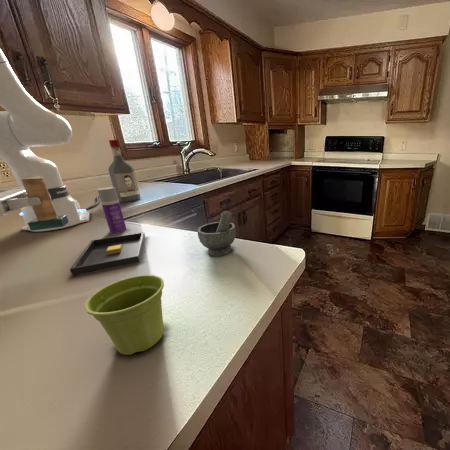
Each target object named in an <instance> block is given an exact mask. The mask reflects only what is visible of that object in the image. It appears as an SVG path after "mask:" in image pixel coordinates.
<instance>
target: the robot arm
mask: <svg viewBox="0 0 450 450" xmlns="http://www.w3.org/2000/svg"><path fill="white" fill-rule="evenodd" d="M0 107H1V108H3V109H4V110H0V159H1V160H2V161H3V162H4V163H5V164H6V165H7V167H8V168H9V170H10V171H11V174H12V175H13V177H14V179H15V181H16V183H17V185H18V186H0V218H2V217H4V216H6V215H9V214H10V213H13V212H16V211H17V210H19V209H20V211H21V212H20V213H19V216H22V217H23V221H24V224H25V225H24V226H21V229H22V231H30V232H48V231H56V230H59V229H61V230H62V229H65V228H69V227H73V226H76V225H78V224H83V223H87V222H89V221H90V215H91V214H90V211H88V210H90V209H92V208H94V207H96V206H97V205H98V204H99V203H100V197H99V194H97V195H96V197H95V199H96V200H95V201H96V202H95V203H94V204H92V205H90V206H88V207H87V208H84V209H83V208H82V209H81V205H80V203H79V201H78V200H77V199H75V198H73V197H72V195H70V192H69V186H68V185H67V184H64V182H63V179H62V176H61V173H60V170H59V167H58V166H57V165H56V164H55V163H54V162H52V161H51V160H49V159H47V158H43V157H40V156H37V154H35V153H34V152H33V151H32V150H31V148H41V147H44V148H47V147H57V146H62V145H66V144H69V143H70V142H71V140H72V138H73V129H72V127H71V125H70V123H69V122H68V120H66V119H65V118H64V117H62V116H61V115H60V114H57V113H56V112H53V111H51V110H50V109H48V108H46V107H45V106H43V104H40V103H39V102H38V101H37V100H36V99H35V98H33V96H31V95H30V93H28V91H27V90H26V89H25V88H24V86H23V85H22V83H21V81H20V80H19V78H18V76H17V75H16V73H15V71H14V70H13V68H12V67H11V65H10V62H9V61H8V59H7V57H6V56H5V54H4V52H3V51H2V49H1V48H0ZM30 177H43V179H44V181H45V184H46V187H47V189H48V192H49V195H50V197H51V200H52V203H53V205H54V208H55V211H56V213H57V216H60V215H67V218H68V221H69V222H68V223H67V224H66V225H65V226H63V227H56V228H48V229H41V230H33V231H31V230H30V227H29V225H28V223H29V222H30V221H32V220H34V219H35V218H36V215H35V213H34V210H33V208H32V206H35V205H40V204H42V203H43V201H42V199H41V197H39V196H38V197H29V198H28V196H27V193H26V191H25V188H24V186H23V183H22V181H21V179H23V178H30Z"/></svg>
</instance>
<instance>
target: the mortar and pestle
mask: <svg viewBox="0 0 450 450" xmlns="http://www.w3.org/2000/svg"><path fill="white" fill-rule="evenodd" d="M232 219H233V213H232V212H231V211H228V210H224V211H222V212H221V214H220V220H219V221H215V222H209V223H205V224H203V225H202V226H201V225H200V226H199V227H197V237H198V239H199V242H200V243H201V245H202V246H203V247H205V248H206V249H208V251H207V252H208V255H209V256H212V257H218V256H219V257H220V256H221V257H222V256H224V255H227V254H229V253H230V252H232V246H231V245H232V244H233V243H234V241H235V239H236V235H237V233H236V232H237V231H236V225H235V223H233V222H231V220H232Z"/></svg>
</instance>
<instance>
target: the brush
mask: <svg viewBox="0 0 450 450" xmlns="http://www.w3.org/2000/svg"><path fill="white" fill-rule="evenodd" d="M21 181H22V183H23V186H24V188H25V191H26V193H27V196H28V198H29V197H38V196H39V197H41V199H42V201H43V203H42V204H40V205H35V206H32V208H33V210H34V213H35V215H36V218H35V219H34V220H32V221H30V222H29V223H28V225H29V227H30V230H31V231H30V230H29V231H30V232H34V231H33V230H41V229H48V228H56V227H63V226H65V225H66V224H67V223H68V222H69V221H68V218H67V215H60V216H57V213H56V211H55V208H54V205H53V203H52V200H51V197H50V195H49V192H48V189H47V187H46V184H45V181H44V179H43V177H30V178H23V179H21Z"/></svg>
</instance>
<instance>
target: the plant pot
mask: <svg viewBox="0 0 450 450" xmlns="http://www.w3.org/2000/svg"><path fill="white" fill-rule="evenodd" d="M164 286H165V281H164V279H163V278H162V277H161V276H158V275H154V274H141V275H134V276H130V277H126V278H122V279H119V280H116V281H114V282H112V283H110V284H107V285H105V286H103V287H101V288H100V289H98V290H97V291H95V292H94V293H93V294H91V295H90V296H89V297H88V298H87V299H86V301H85V303H84V305H83V307H84V311H85V312H86V313H87V314H88V315H91V316H93V318H94V319H95V320H96V321H98V322H99V324H100V326H102V328H103V329H104V331H105V332H106V334H107V336H108V337H109V339H110V340H111V342H112V343H113V345H114V347H115V349H116V350H117V351H118V353H120V354H122V355H127V356H130V355H133V354H135V353H138V352H145V351H147V350H149V349H151V348H152V347H153V346H155V345H156V344H157V343H158V342H159V341H160V340H161V338H162V337H163V334H164V321H163V319H164V317H163V310H162V309H163V307H162V296H163V289H164Z"/></svg>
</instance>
